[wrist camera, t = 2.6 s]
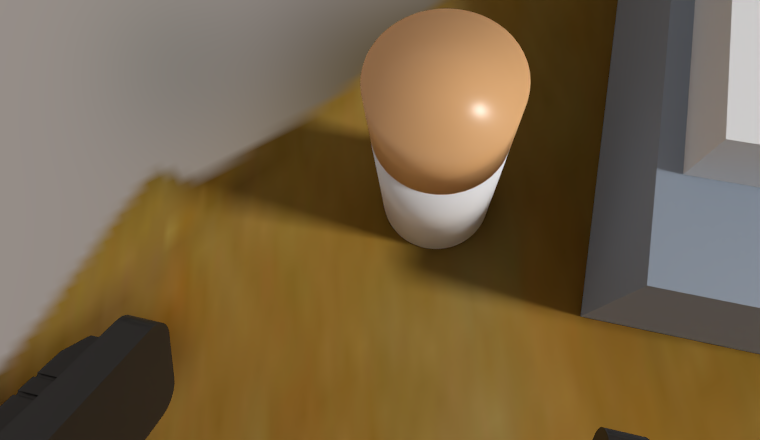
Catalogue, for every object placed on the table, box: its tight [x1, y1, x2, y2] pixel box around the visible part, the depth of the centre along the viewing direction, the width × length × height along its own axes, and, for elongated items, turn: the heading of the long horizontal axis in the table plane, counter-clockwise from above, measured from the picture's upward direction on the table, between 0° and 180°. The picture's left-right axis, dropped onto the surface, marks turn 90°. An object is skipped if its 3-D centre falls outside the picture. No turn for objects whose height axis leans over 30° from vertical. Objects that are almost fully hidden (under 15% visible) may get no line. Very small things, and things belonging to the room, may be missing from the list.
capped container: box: [360, 8, 531, 249], centre depth 20 cm, size 5×5×10 cm
